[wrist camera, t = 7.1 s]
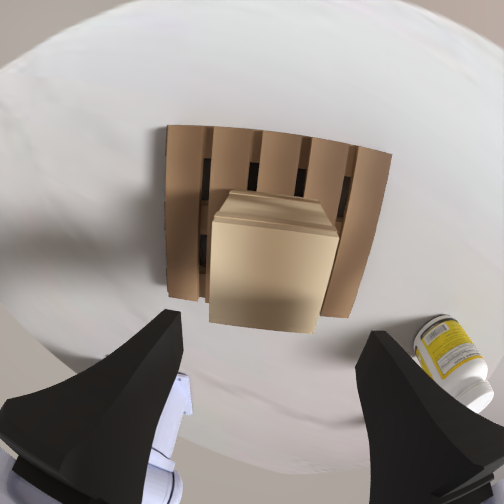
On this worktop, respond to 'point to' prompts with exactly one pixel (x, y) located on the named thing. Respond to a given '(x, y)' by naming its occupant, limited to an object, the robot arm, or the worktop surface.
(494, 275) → the worktop surface
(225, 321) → the cardboard box
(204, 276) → the pallet
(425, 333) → the supplement bottle
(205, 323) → the worktop surface
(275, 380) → the worktop surface
